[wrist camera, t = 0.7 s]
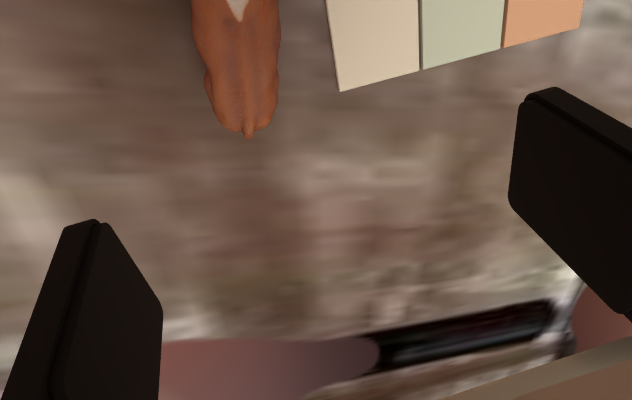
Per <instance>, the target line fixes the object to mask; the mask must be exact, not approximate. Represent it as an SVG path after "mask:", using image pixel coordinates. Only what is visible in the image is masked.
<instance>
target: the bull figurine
mask: <svg viewBox="0 0 632 400" xmlns="http://www.w3.org/2000/svg"><path fill="white" fill-rule="evenodd" d="M191 9H192V32H193V37H194V41H195V44H196V46H197V49H198V52H199V54H200V56H201V58H202V60H203V62H204V63H205V65H206V67H207V71H206V73H205V76H204V86H205V90H206V93H207V95H208V97H209V100H210V102H211V104H212V107H213V110H214V113H215V115H216V117H217V118H218V120H219V122H220V123H221V124H222V125H223V126H224V127H225V128H226V129H228V130H232V131H234V132H240V131H242V132H243V134H244V137H245V138H246V139H250V138H252V137H253V134H254V131H256V130H259V129H262V128H264V127H266V126H267V125H268V124H269V122H270V120H271V117H272V115H273V112H274V110H275V108H276V105H277V100H278V83H279V76H278V70H277V59H278V50H279V46H280V39H281V29H280V22H279V12H278V0H191Z"/></svg>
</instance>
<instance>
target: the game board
mask: <svg viewBox="0 0 632 400" xmlns="http://www.w3.org/2000/svg"><path fill="white" fill-rule="evenodd" d="M504 2H505V7H504ZM325 3H326V10H327V17H328V23H329V30H330V37H331V43H332V50H333V57H334V63H335V70H336V77H337V83H338V90H339V91H340V92H342V91H345V90H349V89H353V88H356V87H360V86H364V85H368V84H371V83H375V82H379V81H382V80H386V79H390V78H394V77H397V76H401V75H405V74H408V73H412V72H416V71H419V44H418V1H417V0H325ZM583 3H584V0H419V5H420V53H421V68H422V69H427V68H431V67H434V66H438V65H442V64H445V63H449V62H453V61H457V60H460V59H464V58H468V57H471V56H475V55H479V54H483V53H486V52H490V51H494V50H497V49H500V43H501V46H502V47H503V48H505V47H509V46H512V45H516V44H520V43H523V42H527V41H531V40H535V39H538V38H542V37H546V36H549V35H553V34H557V33H561V32H564V31H568V30H572V29H575V28H578V27H579V22H580V17H581V13H582V8H583ZM503 12H504V17H503ZM502 22H503V27H502ZM501 33H502V38H501Z"/></svg>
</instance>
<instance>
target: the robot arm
mask: <svg viewBox="0 0 632 400" xmlns="http://www.w3.org/2000/svg"><path fill="white" fill-rule="evenodd" d="M508 200H509V203H510V205H511V207H512V209H513V210H514V211H515V212H516V213H517V214H518V215H519V216H520V217H521V218H522V219H523V220H524V221H525V222H526V223H527V224H528V225H529V226H530V227H531V228H532V229H533V230H534V231H535V232H536V233H537V234H538V235H539V236H540V237H541V238H542V239H543V240H544V241H545V242H546V243H547V244H548V245H549V246H550V247H551V248H552V250H553V251H554V252H555V253H556V254H557V255H558V256H559V257H560V258H561V259H562V260H563V261H564V262H565V263H566V264H567V265H568V266H569V267H570V268H571V269H572V270H573V271H574V272H575V273H576V274H577V275H578V276H579V277H580V278H581V279H582V280H583V281H584V282H585V283H586V284H587V285H588V286H589V287H590V288H591V289H592V290H593V291H594V292H595V293H596V294H597V295H598V296H599V297H600V298H601V299H602V300H603V301H604V302H605V303H606V304H607V305H608V306H609V307H610V308H611V309H612V310H613V311H614V312H616V313H619V314H624V315H625V316H626V317H627V318H628V319H629V320H630V321H631V322H632V128H630V127H628V126H627V125H625V124H623V123H621V122H619V121H618V120H616V119H614V118H612V117H611V116H609V115H607V114H605V113H603V112H602V111H600V110H598V109H596V108H594V107H593V106H591V105H589V104H587V103H585V102H584V101H582V100H580V99H578V98H576V97H575V96H573V95H571V94H569V93H567V92H566V91H564V90H562V89H560V88H558V87H551V88H547V89H544V90H540V91H537V92H533V93H530V94H528V95H527V96H526V98H525V99H524V102H522V103H521V104H520V106H519V109H518V115H517V124H516V132H515V140H514V148H513V157H512V165H511V173H510V182H509V190H508ZM162 328H163V310H162V306H161V304H160V302H159V300H158V298H157V297H156V295H155V294H154V292H153V291H152V289H151V287H150V286H149V284H148V283H147V281H146V280H145V278H144V277H143V275H142V274H141V272H140V271H139V269H138V267H137V266H136V264H135V263H134V261H133V260H132V258H131V257H130V255H129V254H128V252H127V250H126V249H125V247H124V246H123V244H122V243H121V241H120V240H119V238H118V237H117V235H116V233H115V232H114V230H113V229H112V227H111V226H110V225H109V224H108V223H100V222H99V221H97V220H96V219H90V220H87V221H83V222H80V223H76V224H73V225H69V226H67V227H65V228H64V229H63V231H62V234H61V236H60V239H59V242H58V245H57V247H56V250H55V253H54V255H53V258H52V261H51V264H50V266H49V269H48V272H47V275H46V277H45V280H44V283H43V285H42V288H41V291H40V294H39V296H38V299H37V302H36V305H35V307H34V310H33V313H32V316H31V318H30V321H29V324H28V326H27V329H26V332H25V335H24V337H23V340H22V343H21V346H20V348H19V351H18V354H17V356H16V359H15V362H14V365H13V367H12V370H11V373H10V376H9V378H8V381H7V384H6V387H5V389H4V392H3V395H2V398H1V400H158V391H159V375H160V360H161V344H162ZM440 400H632V336H629V337H626V338H623V339H620V340H617V341H614V342H611V343H608V344H605V345H602V346H599V347H596V348H592V349H590V350H586V351H583V352H580V353H577V354H574V355H571V356H568V357H565V358H562V359H559V360H556V361H553V362H550V363H547V364H544V365H541V366H538V367H535V368H532V369H529V370H526V371H523V372H520V373H517V374H514V375H511V376H508V377H505V378H502V379H499V380H496V381H493V382H490V383H487V384H484V385H481V386H478V387H475V388H472V389H469V390H466V391H463V392H460V393H457V394H454V395H451V396H449V397H446V398H443V399H440Z"/></svg>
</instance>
